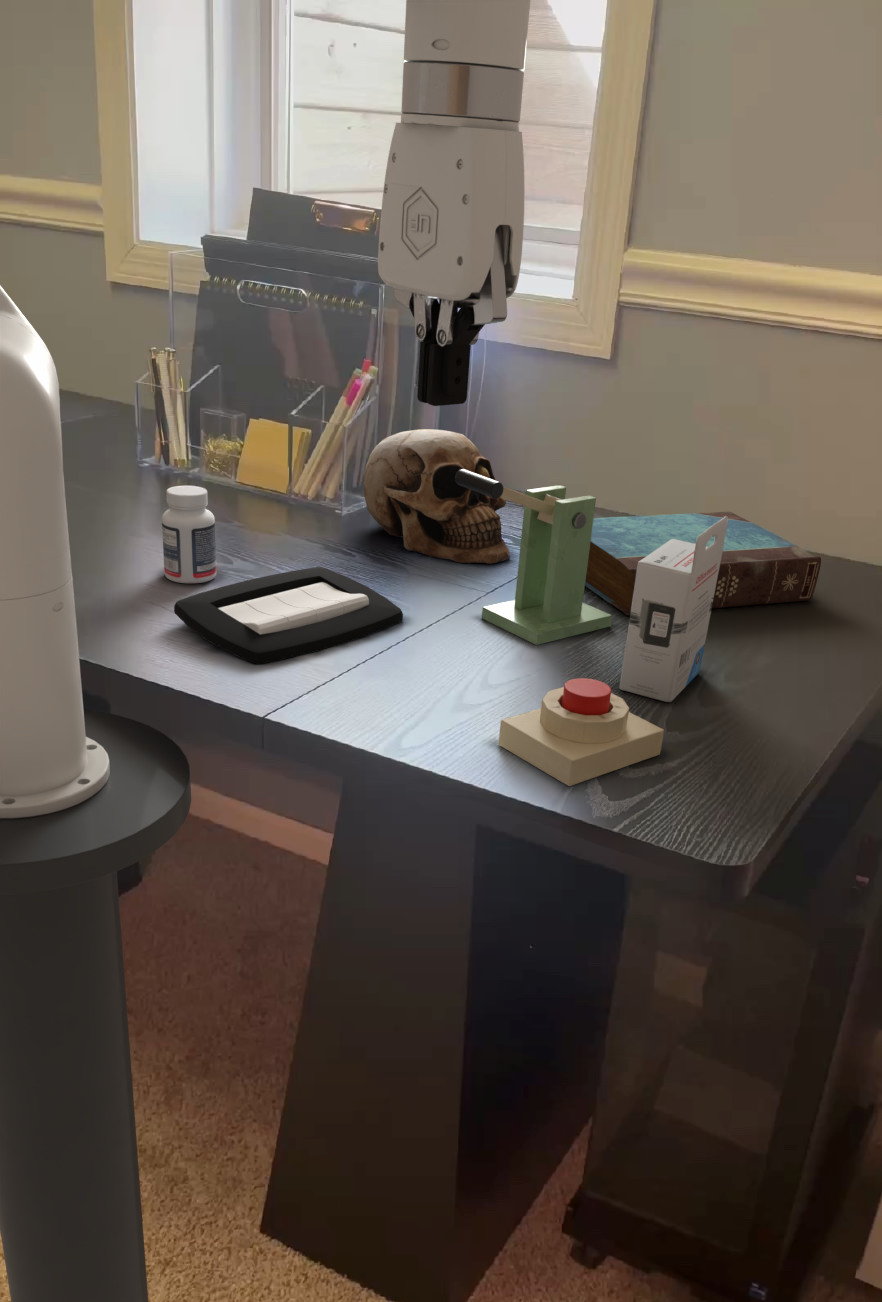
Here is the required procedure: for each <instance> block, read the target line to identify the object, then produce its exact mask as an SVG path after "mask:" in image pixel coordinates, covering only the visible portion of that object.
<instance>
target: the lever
mask: <svg viewBox="0 0 882 1302" xmlns="http://www.w3.org/2000/svg"><path fill="white" fill-rule="evenodd" d="M495 480H496V479H495ZM495 480H492V479H489V478H487V477H484V476H481V475H479V474H476V473H473V472H470V471H468V470H465V469H461V470H459V471H458V472H457V474H456V476H455V481H456V483H457V484H458V485H460V486H463V487H465V488H468V489H471V490H473V491H476V492H478V493H481V494H484V495H486V496H489V497H492V498H494V499H497V498H499V497H500V498H503V499H505V500H506V501H509V502H511V503H514V504H517V505H520V506H522V507H524V506H525V507H528V508H531V509H533V510H536V511H539V515H538V518H537V519H539V520H542V521H544V522H547V523H549V524H553V515H554V507H555V501H557V500H561V499H558V498H555V497H553V496H550V495H547V494H546V496H545V499H544V501H541V500H539V499H536V498H533V497H530V496H528V495H526V493H522V492H520V491H517V490H514V489H511V488H509V487H506V486H504V485H503V483H502V482H500V481H497V480H496V481H495Z"/></svg>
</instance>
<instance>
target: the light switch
mask: <svg viewBox="0 0 882 1302" xmlns="http://www.w3.org/2000/svg"><path fill="white" fill-rule="evenodd" d="M173 612H174V614H175V615H176V617H178V618H179V619H180V620H181V621H182V622H183V623H184V624H185V625H186V626H187V627H188V628H190V629H191V630H192V631H194V632H195V633H196V634H197V635H199V636H201V637H202V638H203V639H204V640H206V641H208V642H209V643H211V644H213V645H215V646H216V647H218V648H220V649H222V650H223V651H225V652H227V653H229V654H232V655H234V656H237V657H238V658H241V659H243V660H245V661H247V662H249V663H252V664H256V665H259V664H266V663H267V664H268V663H271V662H276V661H282V660H286V659H290V658H294V657H298V656H302V655H306V654H311V653H314V652H319V651H322V650H326V649H329V648H333V647H336V646H340V645H344V644H346V643H349V642H352V641H356V640H358V639H361V638H364V637H367V636H369V635H372V634H375V633H377V632H380V631H383V630H386V629H389V628H390V627H393V626H394V625H395V626H396V625H397V624H400V623H402V622H403V620H404V613H403V611H402V609H401V608H400V607H399V606H397V605H396V604H395V603H394V602H393V601H391V600H390V599H388V598H387V597H386V596H384V595H383V594H380V593H379V592H377V591H376V590H374V589H372V588H371V587H369V586H367V585H365V584H363V583H361V582H359V581H357V580H355V579H352V578H350V577H349V576H346V575H344V574H342V573H338V572H337V571H334V570H332V569H329V568H326V567H322V566H316V567H309V568H302V569H296V570H291V571H285V572H279V573H275V574H270V575H266V576H265V575H264V576H261V577H256V578H252V579H247V580H243V581H238V582H236V583H232V584H228V585H223V586H220V587H217V588H213V589H210V590H206V591H203V592H199V593H197V594H194V595H190V596H187V597H185V598H182V599H179V600H177V601H176V602H175V604H174V606H173Z"/></svg>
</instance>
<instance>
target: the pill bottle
mask: <svg viewBox="0 0 882 1302" xmlns="http://www.w3.org/2000/svg"><path fill="white" fill-rule="evenodd" d="M208 498H209V497H208V490H207V489H206V488H205V487H202V486H196V485H176V486H175V485H174V486H171V487H168V488H167V489H166V503H167V506H168V507H169V508H168V509H166V510H165V511H164V512H163V514H162V515H161V531H162V532H161V534H162V552H163V571H164V576H165V577H166V579H168V580H170V581H172V582H174V583H179V584H202V583H206V582H210V581H212V580H213V579H215V578H216V576H217V570H218V569H217V568H218V567H217V546H216V541H217V540H216V519H215V518H216V517H215V515H214V514H213V512H211V510H209V509H207V506H208V505H209V501H208V500H209V499H208Z"/></svg>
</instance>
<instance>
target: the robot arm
mask: <svg viewBox="0 0 882 1302" xmlns="http://www.w3.org/2000/svg"><path fill="white" fill-rule="evenodd" d="M530 9H531V0H406V1H405V22H404V40H403V41H404V45H403V46H404V47H403V65H402V67H403V68H402V89H401V90H402V92H401V113H400V122H395V126H394V129H393V133H392V137H391V141H390V147H389V152H388V156H387V162H386V169H385V175H384V183H383V192H382V200H381V210H380V222H379V233H378V235H379V236H378V248H377V249H378V250H377V273H378V276H379V278H380V279H381V280H382V282H383V283H384V284H385V285H386V286H388V287H390V288H393V289H394V291H393V295H394V299H395V300H396V301H397V302H398V303H400V305H402V306H404V307H405V308H407V309H408V310H410V313H411V315H412V317H413V322H414V336H415V337H416V339H417V340H418V341H420V342H419V361H418V377H417V395H416V398H417V400H418V401H419V402H420V403H423V404H428V405H429V406H433V407H441V406H453V405H463V404H465V403H466V402H467V398H468V388H469V387H468V386H469V377H470V375H469V374H470V363H471V362H470V361H471V350H472V346H473V345H476V344H477V342H478V340H479V336H480V331H481V330H482V329H483V328H484V327H485V325H491V324H497V323H503V322H505V321H506V320H507V317H508V301H507V299H508V298H510V297H511V296H512V295H513V294H514V293H515V291H516V289H517V287H518V283H519V277H520V271H521V264H522V256H523V244H524V243H523V242H524V229H525V228H524V226H525V225H524V224H525V163H524V162H525V159H524V156H525V155H524V142H523V132H522V131H520V124H521V123H520V122H521V111H522V99H523V89H524V76H525V72H524V71H525V67H526V56H527V55H526V54H527V43H528V32H529V20H530ZM61 421H62V420H61V397H60V383H59V377H58V372H57V368H56V365H55V361H54V359H53V357H52V354H51V352H50V350H49V349H48V347H47V345H46V343H45V342H44V340H43V339H42V337H41V336H40V335H39V334H38V332H37V330H36V329H35V328H34V327H33V325H32V324H31V322H30V321H29V320H28V319H27V318H26V317H25V315H24V314H23V313H22V312H21V310H20V309H19V307H18V306H17V304H15V302H14V301H13V300H12V298H11V296H9V295H8V293H7V292H6V291H5V290H4V288H3V287H2V285H0V819H14V818H26V817H34V816H40V815H46V814H50V813H54V812H57V811H61V810H65V809H67V808H70V807H72V806H75V805H77V804H79V803H81V802H83V801H85V800H87V799H89V798H90V797H92V796H93V795H94V794H95V793H97V792H98V791H99V790H101V788H102V787H103V786H104V785H105V783H106V782H107V780H108V777H109V775H110V765H109V758H108V754H107V752H106V751H105V750H104V748H103V747H102V746H101V745H99V744H98V743H97V742H95V741H94V740H92V739H90V738H88V737H86V734H85V722H84V710H83V709H84V699H83V688H82V687H83V686H82V677H81V675H82V673H81V664H80V662H81V661H80V649H79V640H78V639H79V638H78V626H77V614H76V603H75V591H74V590H75V589H74V579H73V572H72V571H73V570H72V559H71V547H70V546H71V545H70V537H69V535H70V534H69V523H68V512H67V503H66V501H67V500H66V489H65V488H66V487H65V475H64V462H63V461H64V460H63V439H62V437H63V436H62V435H63V434H62V422H61Z"/></svg>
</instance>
